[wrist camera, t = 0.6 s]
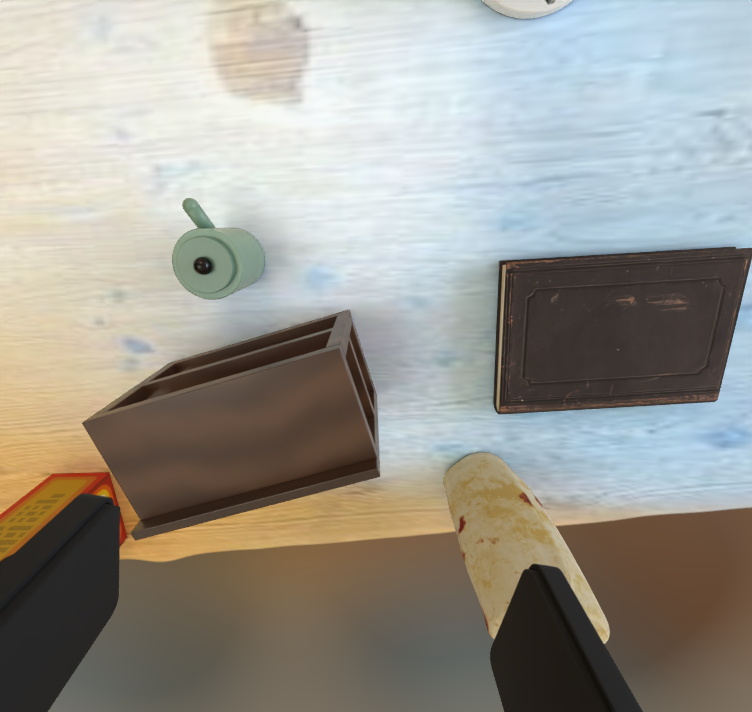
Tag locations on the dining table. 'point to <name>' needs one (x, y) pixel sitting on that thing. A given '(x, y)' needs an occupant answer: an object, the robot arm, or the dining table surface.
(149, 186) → the dining table surface
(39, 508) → the baking soda box
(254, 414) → the stand
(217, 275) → the kettle
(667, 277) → the hardcover book
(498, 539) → the food model
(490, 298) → the dining table surface
